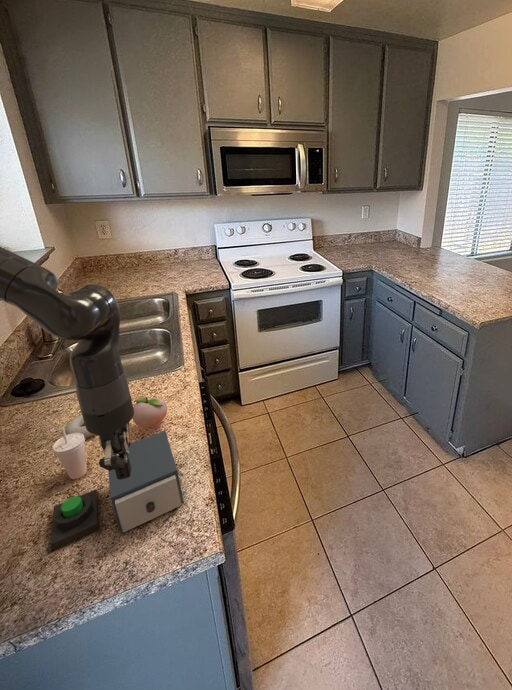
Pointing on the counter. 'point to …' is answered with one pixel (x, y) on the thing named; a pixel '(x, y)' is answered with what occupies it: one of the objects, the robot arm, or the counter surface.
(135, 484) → the cabinet
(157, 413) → the decorative fruit
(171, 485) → the drawer
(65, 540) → the control block
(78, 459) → the smoothie
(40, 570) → the counter surface
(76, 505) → the button
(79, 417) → the donut
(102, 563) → the counter surface
